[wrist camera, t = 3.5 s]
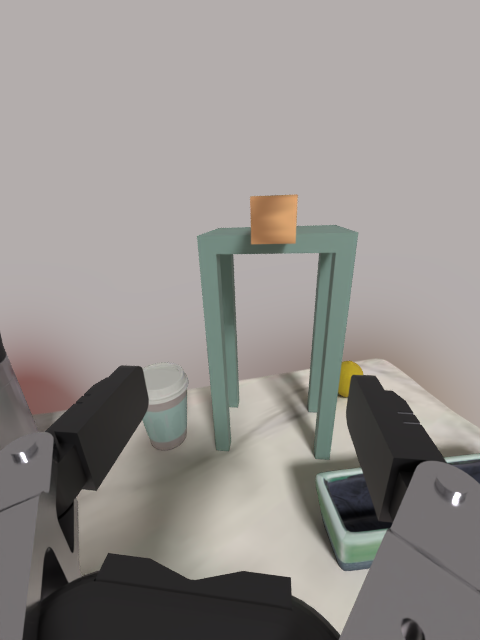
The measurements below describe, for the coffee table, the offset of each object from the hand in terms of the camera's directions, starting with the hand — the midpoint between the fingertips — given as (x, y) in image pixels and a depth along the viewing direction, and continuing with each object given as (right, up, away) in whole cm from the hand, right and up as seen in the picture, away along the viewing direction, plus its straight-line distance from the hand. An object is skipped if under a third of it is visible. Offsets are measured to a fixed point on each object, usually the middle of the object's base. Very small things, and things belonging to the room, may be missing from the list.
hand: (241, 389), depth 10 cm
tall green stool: (+5, -15, +36) cm, 40 cm away
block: (+4, +13, +20) cm, 24 cm away
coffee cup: (-12, -17, +35) cm, 40 cm away
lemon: (+21, -13, +43) cm, 49 cm away
